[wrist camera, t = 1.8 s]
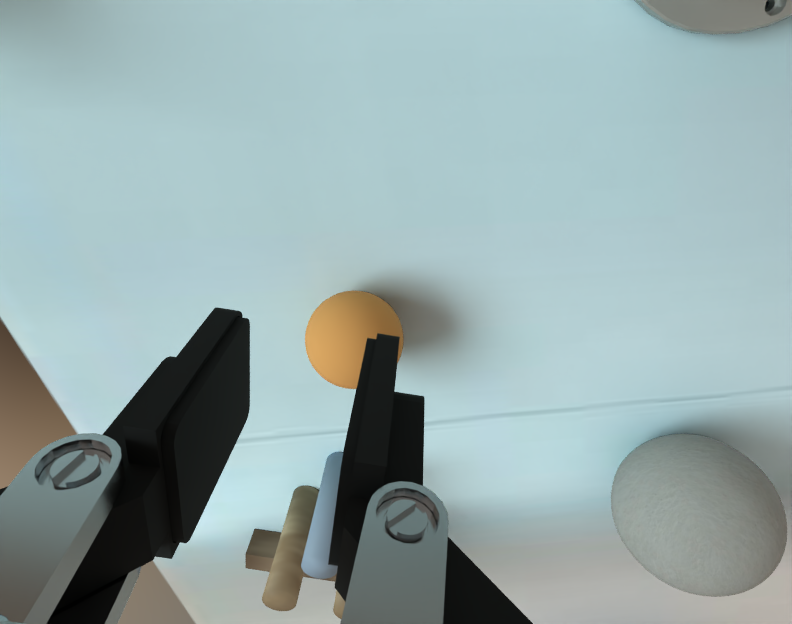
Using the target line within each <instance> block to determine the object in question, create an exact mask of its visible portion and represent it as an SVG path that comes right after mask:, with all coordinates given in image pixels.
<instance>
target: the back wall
mask: <svg viewBox="0 0 792 624" xmlns="http://www.w3.org/2000/svg"><path fill="white" fill-rule="evenodd" d="M280 536H281V533H279V532H272V531H265V530H259V529H254V532H253V535H252V538H251V540H250V543H249V546H248V549H247V552H246V568H248V569H255V570H262V571H268V572H270V570H271V567H272V563H273V560H274V556H275V553H276V550H277V546H278V543H279V540H280ZM336 575H337V573H336ZM336 575H335V576H333V577H331V578H327V579H322V580H328V581H335V582H336ZM303 577H308V578H314V577H311V576H309V575H307V574H306V573H305V572H304V574H303ZM315 579H318V578H315Z"/></svg>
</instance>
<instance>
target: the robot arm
mask: <svg viewBox="0 0 792 624" xmlns="http://www.w3.org/2000/svg"><path fill="white" fill-rule="evenodd" d="M635 1H636V2H637V3H638V4H639V5H640V6H641V7H642V8H643V9H644V10H645V11H646V12H647V13H648V14H649V15H651V16H653V17H654V18H656V19H658V20H660V21H661V22H663V23H665V24H666V25H668V26H671V27H674V28H678V29H681V30H684V31H688V32H691V33H703V34H730V33H742V32H746V31H750V30H754V29H758V28H762V27H766V26H769V25H771V24H774V23H776V22H778V21H781V20H783V19H785V18H788V17H790V16H792V0H768V1H769V6H768V8H767V9H766V10H765V5H766V2H767V0H635ZM399 340H400V337H398V336H392V335H385V334H379V333H377V337H376V339H372V338H367V341H366V346H365V351H364V356H363V361H362V365H361V370H360V375H359V380H358V384H357V389H356V394H355V399H354V404H353V408H352V413H351V418H350V423H349V427H348V432H347V437H346V442H345V447H344V452H343V457H342V463H341V470H340V477H339V485H338V492H337V500H336V507H335V515H334V523H333V530H332V538H331V545H330V553H329V561H328V565H334V566H338V568H337V575H336V582H335V588H336V590H337V591H338V593H339V594H340V595H341V597H342V598H343V599H344V601H345V606H344V610H343V615H342V619H341V623H340V624H533V623H532V622H531V621H530V620H529V619H528V618H527V617H526V616H525V615H524V614H523V613H522V612H521V611H520V610H519V609H518V608H517V607H516V606H515V605H514V604H513V603H512V602H511V601H510V600H509V599H508V598H507V597H506V596H505V595H504V594H503V593H502V592H501V591H500V590H499V589H498V587H497V586H496V585H495V584H494V583H493V582H492V581H491V580H490V579H489V578H488V577H487V576H486V575H485V574H484V573H483V572H482V571H481V570H480V569H479V568H478V567H477V566H476V565H475V564H474V563H473V562H472V561H471V560H470V559H469V558H468V557H467V556H466V555H465V554H464V553H463V552H462V551H461V550H460V549H459V548H458V547H457V546H456V545H455V544H454V542H453V541H452V540H451V539H450V538H449V537H448V524H449V523H448V515H447V511H446V509H445V507H444V505H443V503H442V501H441V500H440V499H439V498H438V497H437V496H436V494H435V493H433V492H432V491H430V490H429V489H427V488H426V487H424V486H423V447H424V396H418V395H412V394H405V393H399V392H394V389H395V379H396V369H397V360H398V350H399ZM249 406H250V323H249V319H247V318H242V313H241V312H240V311H235V310H229V309H223V308H215V309H214V310H213V311H212V312H211V313H210V315H209V316H208V317H207V319H206V320H205V321H204V322H203V324H202V325H201V326H200V327H199V329H198V330H197V331H196V333H195V334H194V335H193V336H192V338H191V339H190V340H189V342H188V343H187V344H186V345H185V347H184V348H183V349H182V350H181V352H180V353H179V354H178V356H177V357H171V356H170V357H167V358H166V359H164V360H163V361H162V362H161V364H160V365H159V366H158V367H157V369H156V370H155V371H154V372H153V374H152V375H151V376H150V377H149V378H148V380H147V381H146V382H145V383H144V385H143V386H142V387H141V388H140V389H139V391H138V392H137V393H136V394H135V396H134V397H133V398H132V399H131V401H130V402H129V403H128V404H127V405H126V407H125V408H124V409H123V410H122V412H121V413H120V414H119V415H118V416H117V418H116V419H115V420H114V421H113V423H112V424H111V425H110V426H109V427H108V429H107V430H106V431H105V432H104V434H103V435H100V434H96V433H90V434H78V435H73V436H68V437H65V438H63V439H60V440H57V441H55V442H53V443H51V444H49V445H48V446H46V447H44V448H43V449H41V450H40V451H39V452H38V453H37V454H35V455H34V457H32V458H31V459H30V460H29V462H28V463H27V464H26V465H25V466H24V468H23V469H22V470H21V471H20V473H19V474H18V475H17V476H16V478H15V479H14V480H13V481H12V482H11V484H10V485H9V486H8V487H5V488H2V489H0V624H117V623H118V621H119V619H120V617H121V614H122V612H123V610H124V608H125V606H126V603H127V601H128V599H129V597H130V595H131V592H132V590H133V588H134V586H135V583H136V581H137V579H138V577H139V573H140V569H141V566H143V565H145V564H146V563H148V562H150V561H152V560H153V559H154V557H155V556H156V557H163V558H170V559H172V557H173V555H174V553H175V551H176V549H177V547H178V545H179V543H180V542H182V543H187V542H188V541H189V540H190V538H191V536H192V534H193V532H194V530H195V528H196V526H197V524H198V522H199V519H200V517H201V515H202V513H203V511H204V509H205V507H206V505H207V503H208V501H209V498H210V496H211V494H212V492H213V490H214V488H215V486H216V484H217V482H218V479H219V477H220V475H221V473H222V471H223V469H224V467H225V465H226V463H227V461H228V458H229V456H230V454H231V452H232V450H233V448H234V446H235V444H236V442H237V439H238V437H239V435H240V433H241V431H242V429H243V427H244V425H245V423H246V420H247V417H248V413H249Z"/></svg>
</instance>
